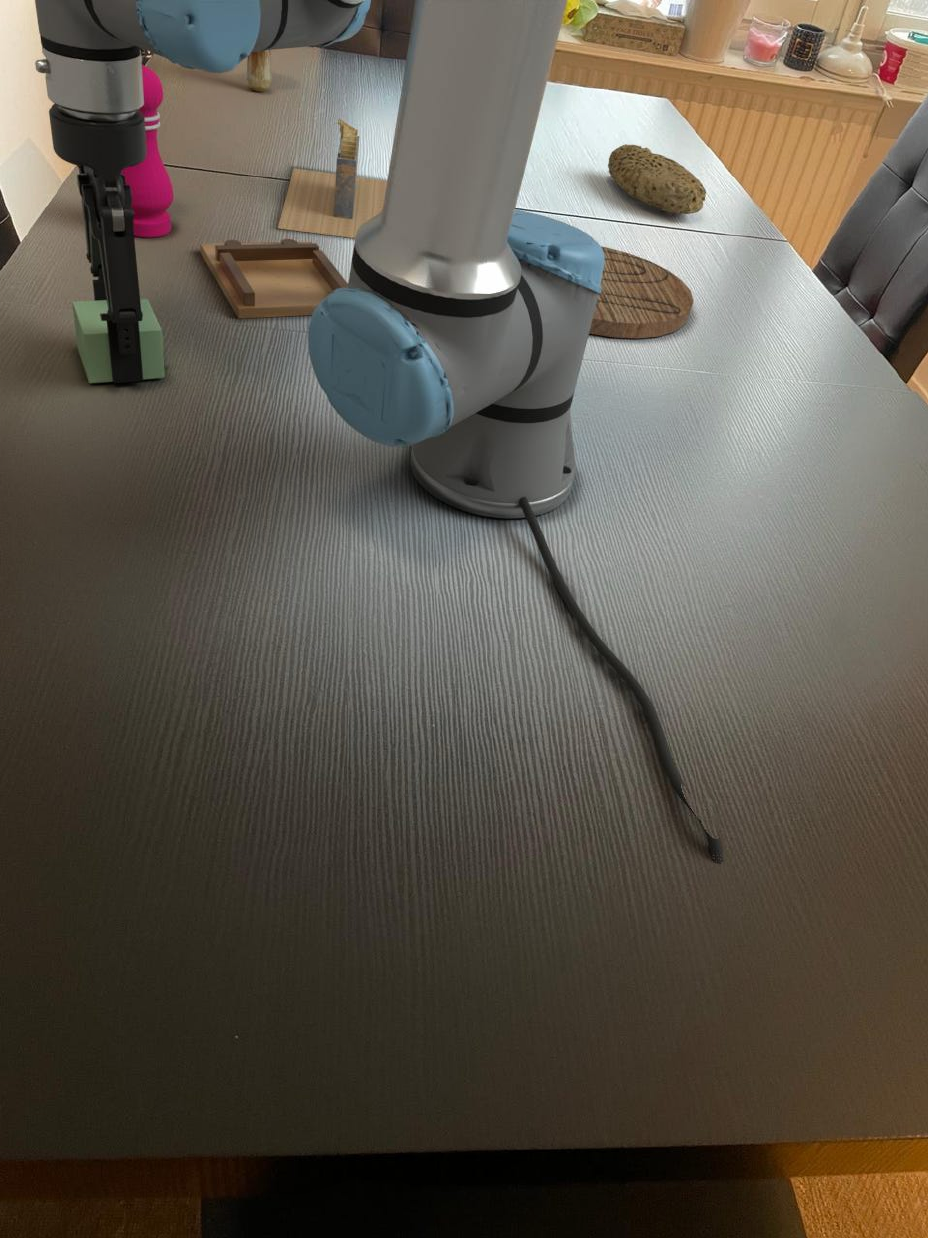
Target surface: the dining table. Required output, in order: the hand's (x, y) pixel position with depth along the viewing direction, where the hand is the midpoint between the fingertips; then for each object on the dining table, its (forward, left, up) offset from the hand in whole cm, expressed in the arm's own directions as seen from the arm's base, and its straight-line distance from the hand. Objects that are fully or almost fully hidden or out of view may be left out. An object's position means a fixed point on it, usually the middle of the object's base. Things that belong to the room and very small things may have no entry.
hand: (120, 360), depth 97 cm
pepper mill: (+35, -9, -1) cm, 36 cm away
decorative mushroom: (+98, -41, -1) cm, 106 cm away
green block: (0, 0, 0) cm, 0 cm away
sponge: (+43, -91, +3) cm, 101 cm away
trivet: (+25, -66, +1) cm, 71 cm away
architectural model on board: (+43, -38, -1) cm, 57 cm away
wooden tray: (+18, -21, -1) cm, 28 cm away
